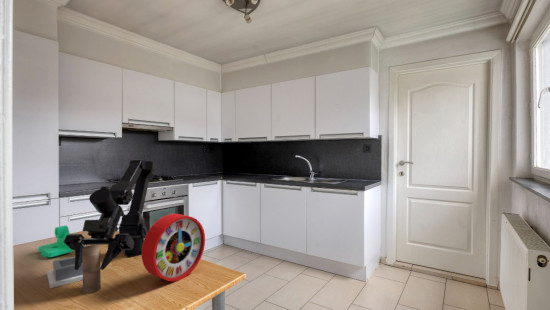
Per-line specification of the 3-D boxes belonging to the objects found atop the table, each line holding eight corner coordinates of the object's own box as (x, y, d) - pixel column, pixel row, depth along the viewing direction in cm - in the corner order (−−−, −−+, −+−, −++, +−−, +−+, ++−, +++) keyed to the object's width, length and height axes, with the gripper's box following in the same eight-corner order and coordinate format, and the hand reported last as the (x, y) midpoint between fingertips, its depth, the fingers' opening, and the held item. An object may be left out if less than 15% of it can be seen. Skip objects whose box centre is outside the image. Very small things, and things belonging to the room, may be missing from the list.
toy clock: (153, 292, 83) (153, 223, 82) (141, 286, 86) (141, 220, 85) (205, 267, 100) (205, 210, 99) (193, 264, 103) (193, 208, 102)
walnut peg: (99, 284, 87) (98, 243, 87) (102, 290, 84) (101, 247, 83) (81, 289, 84) (81, 247, 84) (84, 295, 81) (83, 251, 80)
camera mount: (37, 253, 112) (37, 227, 112) (60, 247, 118) (60, 223, 118) (49, 260, 105) (48, 232, 105) (73, 254, 112) (72, 228, 111)
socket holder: (90, 264, 102) (89, 251, 101) (97, 276, 93) (96, 262, 93) (46, 274, 94) (46, 260, 93) (49, 288, 85) (49, 273, 84)
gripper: (66, 207, 87) (39, 258, 76) (130, 207, 88) (111, 257, 77) (83, 226, 95) (60, 274, 84) (140, 225, 96) (125, 273, 85)
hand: (88, 269), depth 82 cm, fingers open, 7 cm apart
